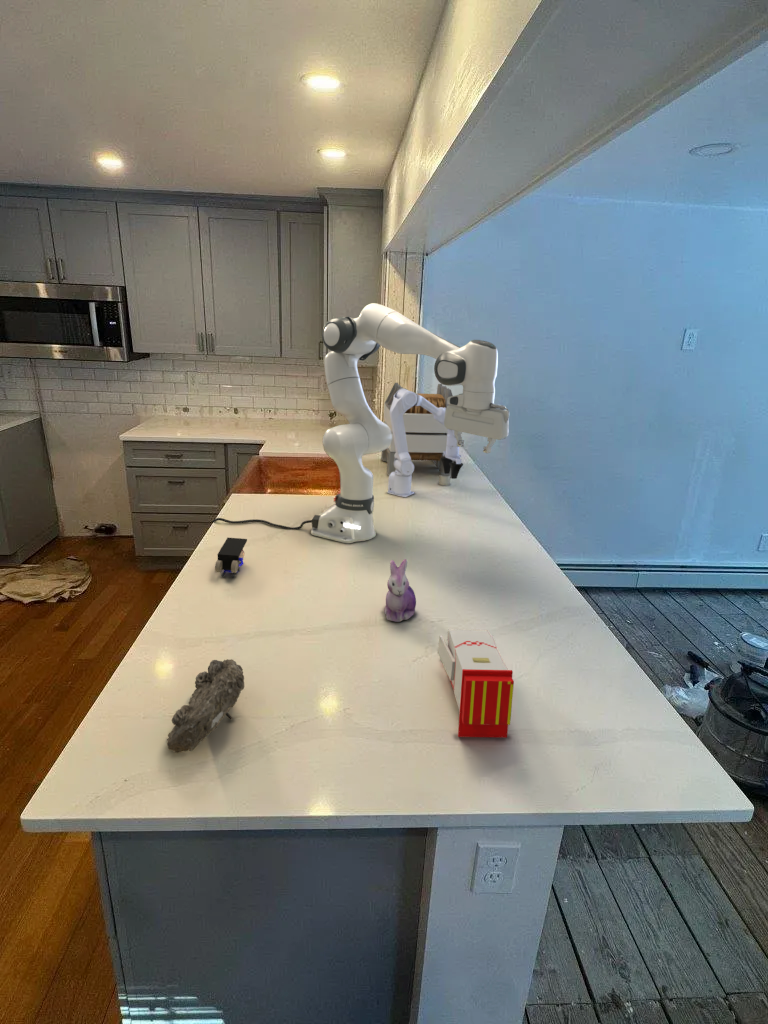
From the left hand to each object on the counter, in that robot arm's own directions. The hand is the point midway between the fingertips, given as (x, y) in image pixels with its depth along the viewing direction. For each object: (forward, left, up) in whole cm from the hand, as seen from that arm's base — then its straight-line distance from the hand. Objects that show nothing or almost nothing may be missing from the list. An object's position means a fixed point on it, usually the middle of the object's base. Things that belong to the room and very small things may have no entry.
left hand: (473, 449), depth 163 cm
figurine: (-11, -34, -38) cm, 52 cm away
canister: (-21, +87, -38) cm, 97 cm away
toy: (+11, -60, -38) cm, 72 cm away
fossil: (-35, -84, -38) cm, 99 cm away
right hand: (-17, +77, -31) cm, 84 cm away
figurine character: (-64, -26, -38) cm, 79 cm away
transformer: (-40, +109, -38) cm, 122 cm away
